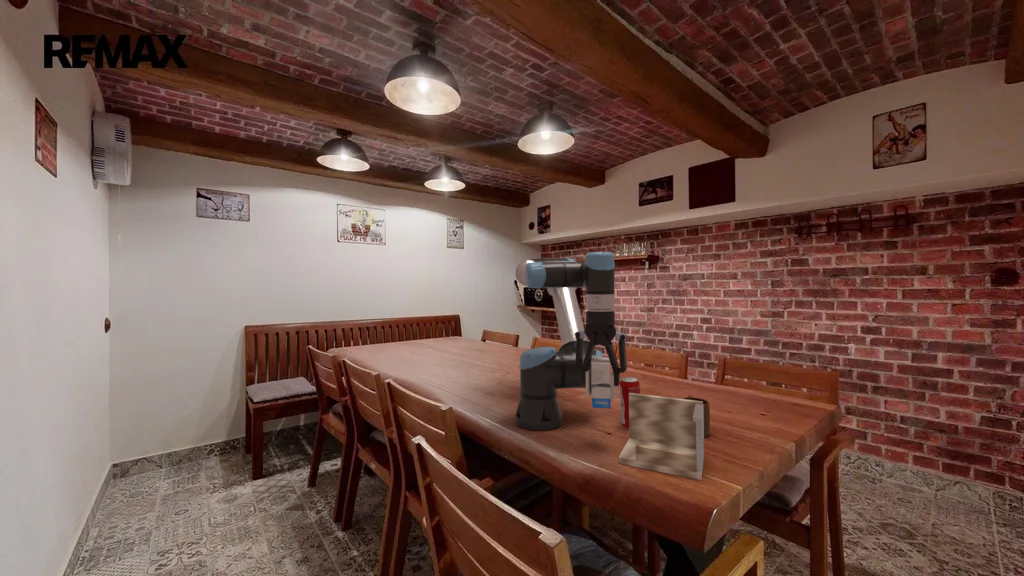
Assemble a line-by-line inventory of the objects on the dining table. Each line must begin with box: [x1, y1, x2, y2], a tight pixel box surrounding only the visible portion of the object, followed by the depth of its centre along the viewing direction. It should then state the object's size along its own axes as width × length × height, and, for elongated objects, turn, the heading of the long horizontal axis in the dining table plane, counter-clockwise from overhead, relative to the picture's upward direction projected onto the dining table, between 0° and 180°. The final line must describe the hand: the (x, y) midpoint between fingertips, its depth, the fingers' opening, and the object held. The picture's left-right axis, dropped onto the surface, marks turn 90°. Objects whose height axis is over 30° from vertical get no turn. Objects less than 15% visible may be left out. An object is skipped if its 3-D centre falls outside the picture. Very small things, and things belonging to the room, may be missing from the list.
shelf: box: [618, 393, 703, 481], centre depth 94 cm, size 18×14×14 cm
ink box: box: [591, 357, 612, 410], centre depth 101 cm, size 9×5×12 cm, turn 168°
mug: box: [681, 395, 711, 438], centre depth 112 cm, size 12×8×9 cm, turn 166°
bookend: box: [693, 403, 705, 473], centre depth 90 cm, size 2×12×12 cm, turn 152°
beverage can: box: [619, 376, 641, 431], centre depth 115 cm, size 6×6×15 cm
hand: (600, 396), depth 102 cm, fingers closed on ink box, 6 cm apart
